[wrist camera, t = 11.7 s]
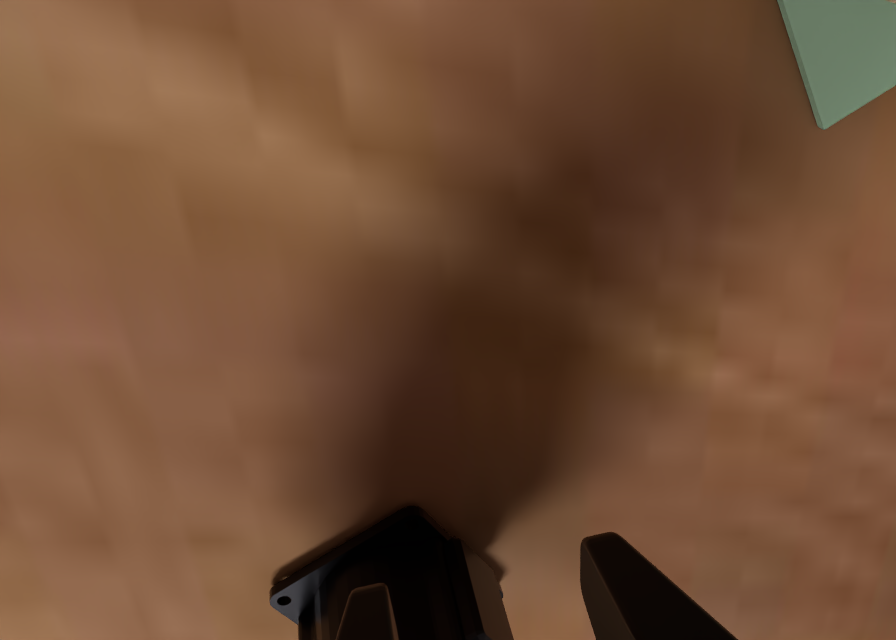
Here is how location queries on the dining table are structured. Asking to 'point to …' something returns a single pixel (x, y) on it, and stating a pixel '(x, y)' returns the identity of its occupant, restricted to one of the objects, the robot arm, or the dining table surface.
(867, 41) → the felt pad
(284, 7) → the dining table surface
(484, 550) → the dining table surface
